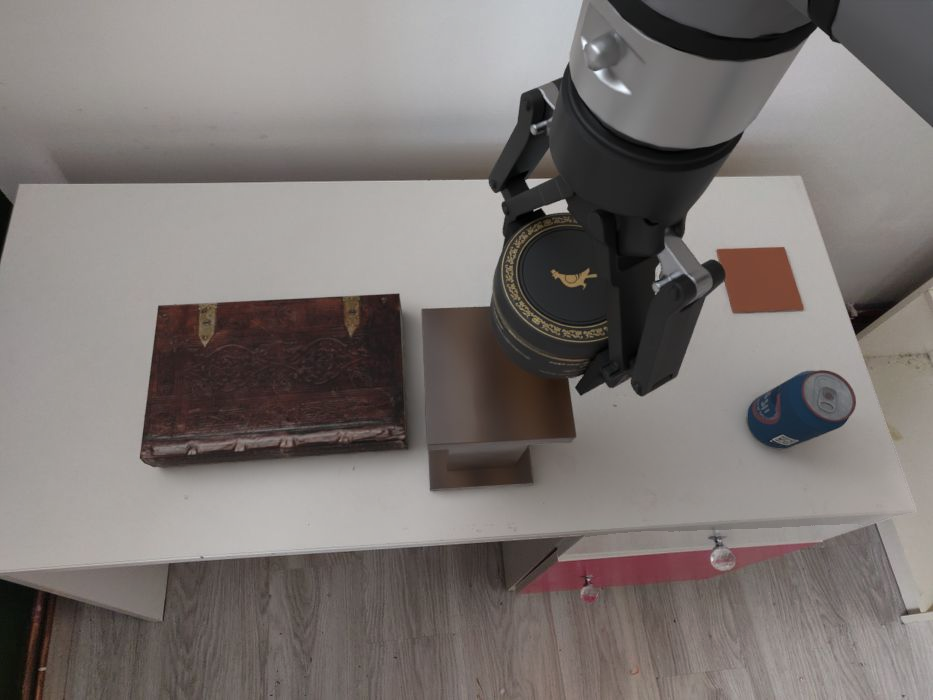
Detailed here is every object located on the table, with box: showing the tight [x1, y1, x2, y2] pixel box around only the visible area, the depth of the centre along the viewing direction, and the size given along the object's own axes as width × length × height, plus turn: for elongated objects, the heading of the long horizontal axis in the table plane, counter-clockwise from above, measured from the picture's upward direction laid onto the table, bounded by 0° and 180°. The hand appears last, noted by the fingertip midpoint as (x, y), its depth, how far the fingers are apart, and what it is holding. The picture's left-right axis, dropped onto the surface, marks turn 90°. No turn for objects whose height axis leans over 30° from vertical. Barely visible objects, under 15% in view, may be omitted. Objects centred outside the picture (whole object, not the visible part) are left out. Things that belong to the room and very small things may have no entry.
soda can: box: [746, 369, 857, 450], centre depth 67 cm, size 7×7×12 cm
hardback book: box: [139, 293, 409, 468], centre depth 69 cm, size 29×19×5 cm, turn 95°
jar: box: [489, 211, 619, 380], centre depth 40 cm, size 10×10×8 cm
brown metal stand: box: [420, 305, 577, 492], centre depth 59 cm, size 12×12×24 cm
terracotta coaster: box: [715, 246, 805, 314], centre depth 80 cm, size 10×10×1 cm
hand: (552, 323), depth 43 cm, fingers closed on jar, 10 cm apart
